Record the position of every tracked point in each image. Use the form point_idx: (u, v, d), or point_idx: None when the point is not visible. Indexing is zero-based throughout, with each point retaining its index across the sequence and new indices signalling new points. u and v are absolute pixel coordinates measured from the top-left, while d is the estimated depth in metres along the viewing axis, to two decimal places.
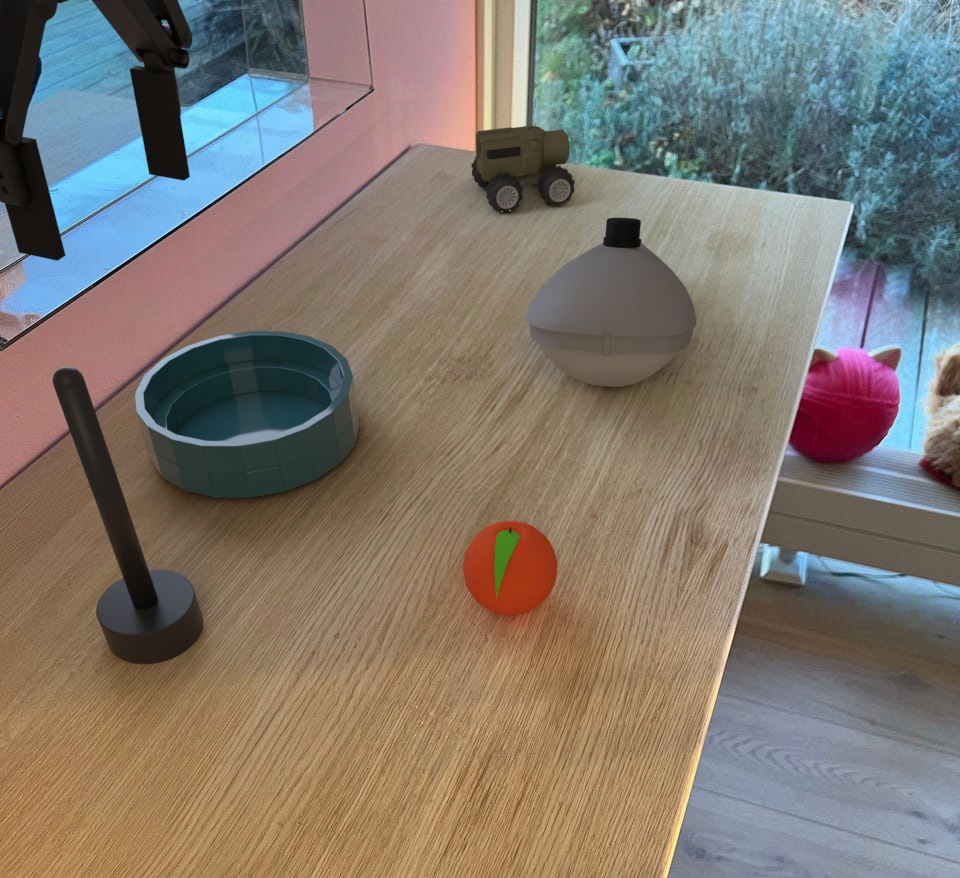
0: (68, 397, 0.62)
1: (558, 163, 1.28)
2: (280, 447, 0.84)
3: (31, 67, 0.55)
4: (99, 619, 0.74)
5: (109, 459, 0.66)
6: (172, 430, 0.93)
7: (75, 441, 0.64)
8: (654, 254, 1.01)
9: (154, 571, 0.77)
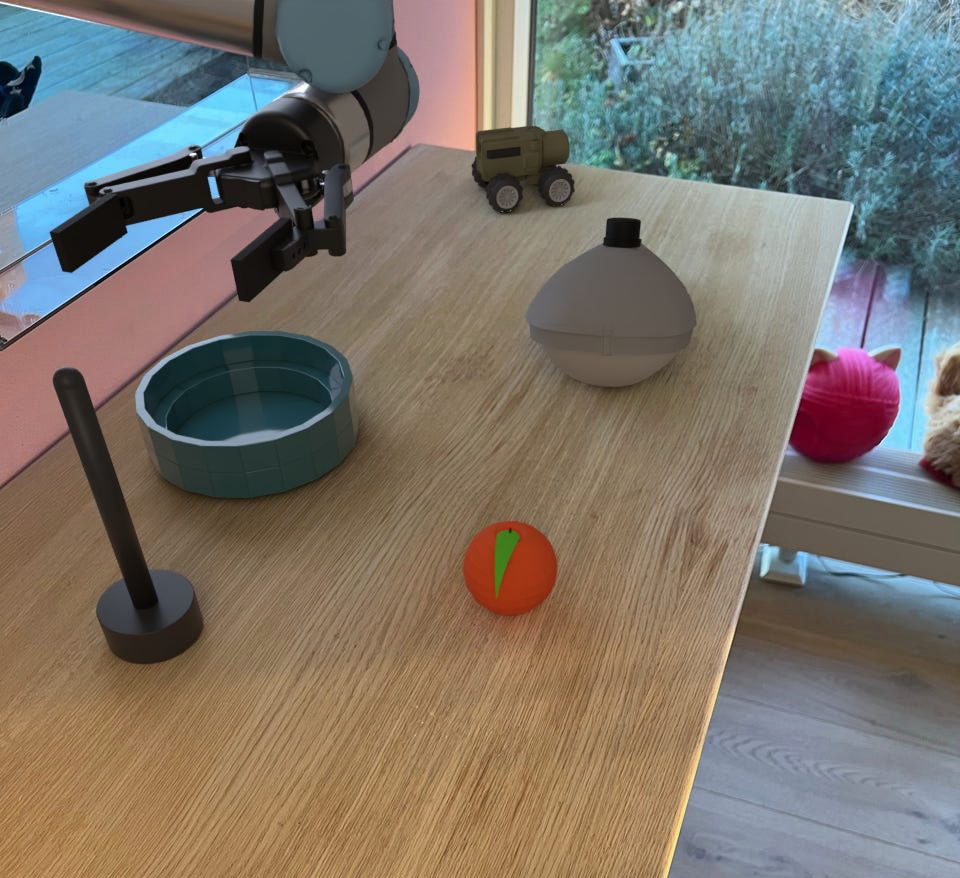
0: (68, 397, 0.62)
1: (558, 163, 1.28)
2: (280, 447, 0.84)
3: None
4: (99, 619, 0.74)
5: (109, 459, 0.66)
6: (172, 430, 0.93)
7: (75, 441, 0.64)
8: (654, 254, 1.01)
9: (154, 571, 0.77)
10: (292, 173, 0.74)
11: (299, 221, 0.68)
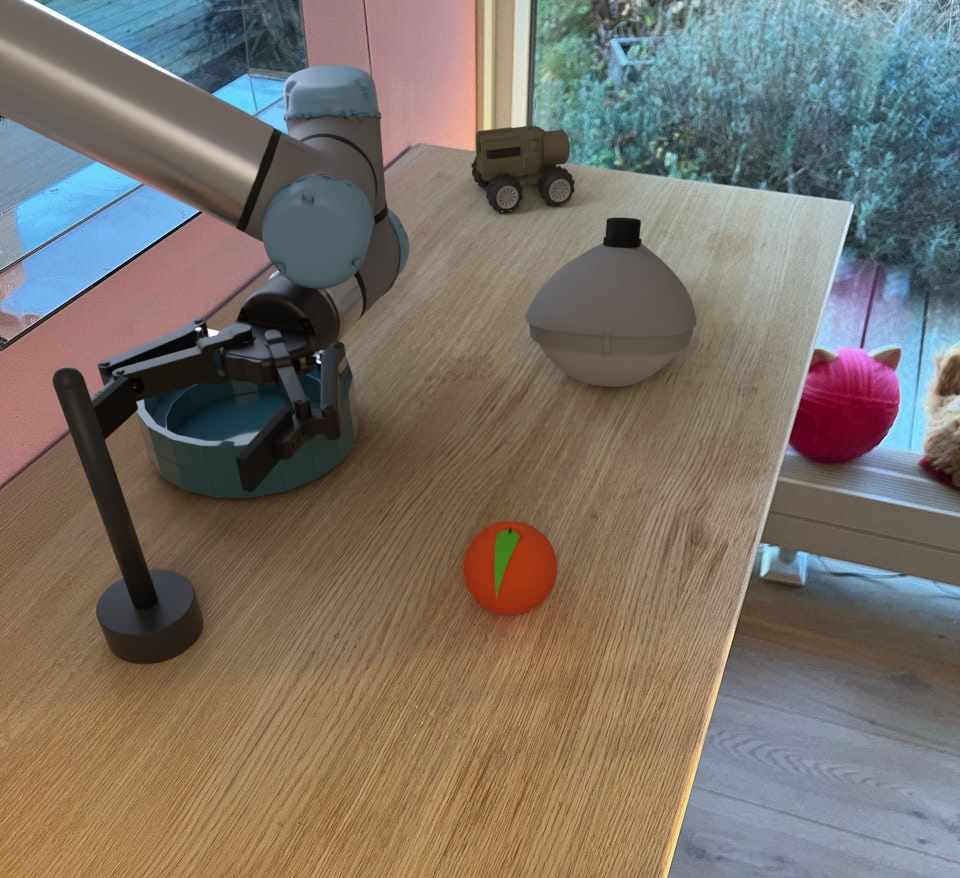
0: (68, 397, 0.62)
1: (558, 163, 1.28)
2: None
3: None
4: (99, 619, 0.74)
5: (109, 459, 0.66)
6: (172, 430, 0.93)
7: (75, 441, 0.64)
8: (654, 254, 1.01)
9: (154, 571, 0.77)
10: (291, 352, 0.80)
11: (298, 411, 0.74)
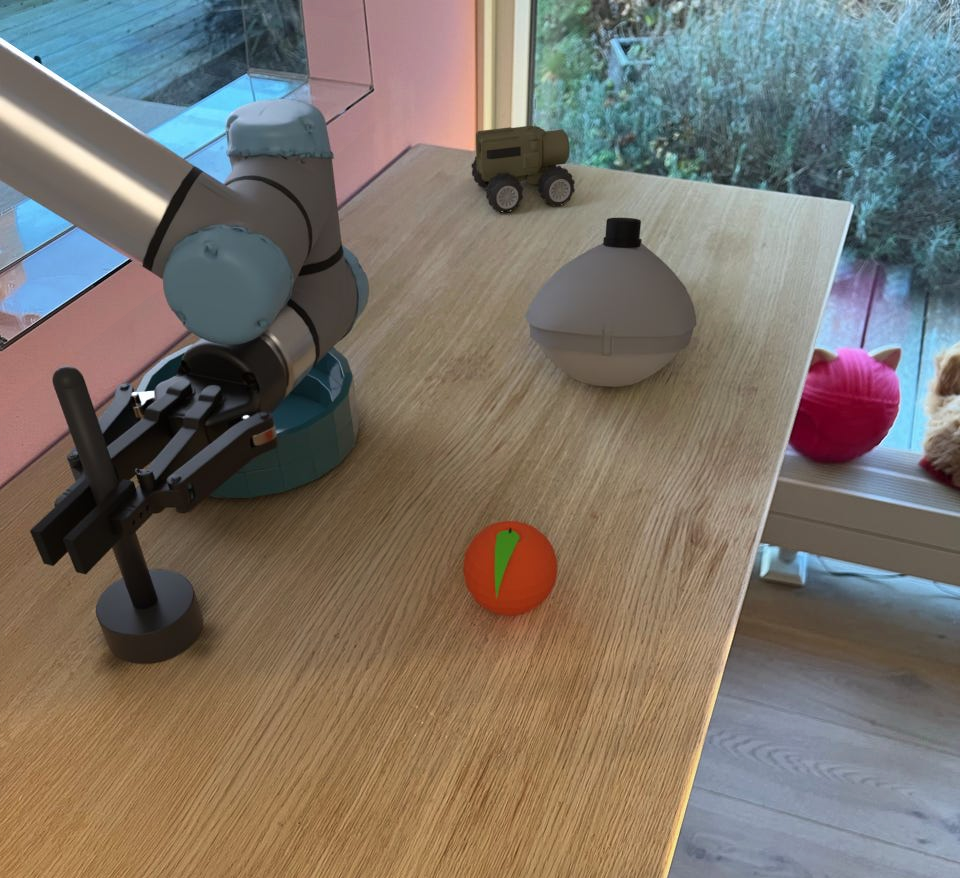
0: (68, 397, 0.62)
1: (558, 163, 1.28)
2: (280, 447, 0.84)
3: None
4: (99, 619, 0.74)
5: (109, 459, 0.66)
6: None
7: (75, 441, 0.64)
8: (654, 254, 1.01)
9: (154, 571, 0.77)
10: (232, 410, 0.74)
11: None
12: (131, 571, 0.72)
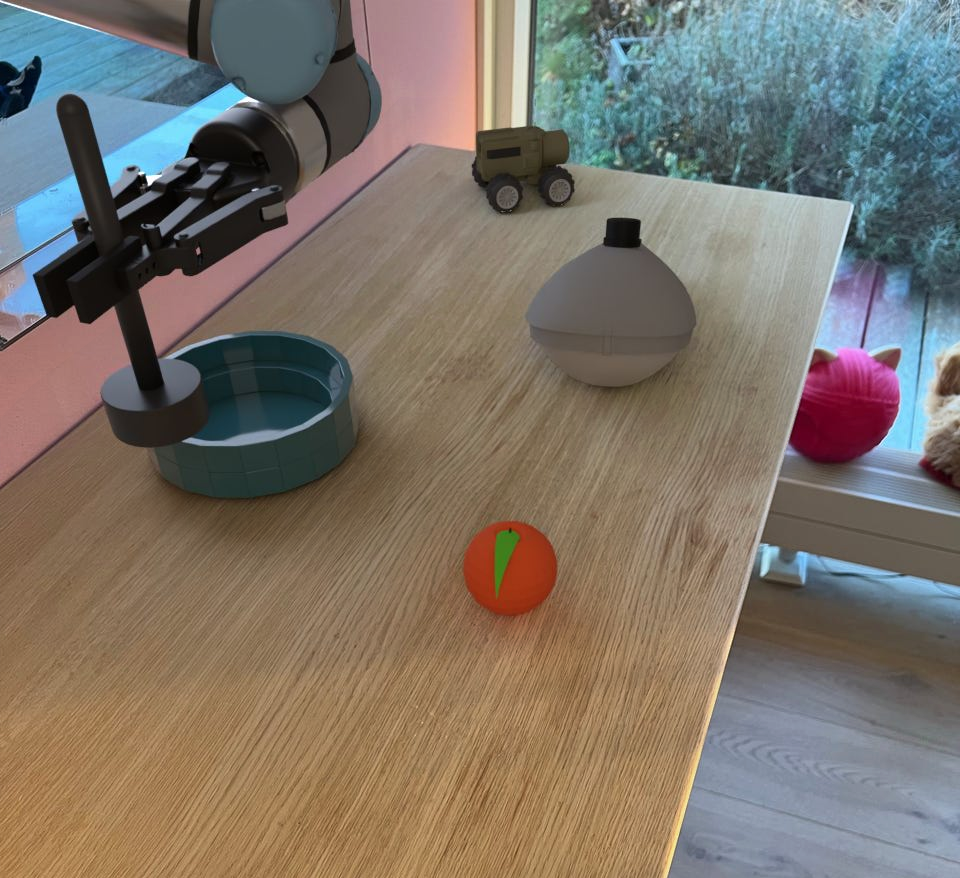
0: (72, 126, 0.60)
1: (558, 163, 1.28)
2: (280, 447, 0.84)
3: None
4: (103, 398, 0.72)
5: (114, 207, 0.64)
6: None
7: (79, 182, 0.62)
8: (654, 254, 1.01)
9: (160, 360, 0.75)
10: (241, 185, 0.72)
11: (145, 238, 0.66)
12: (137, 344, 0.70)
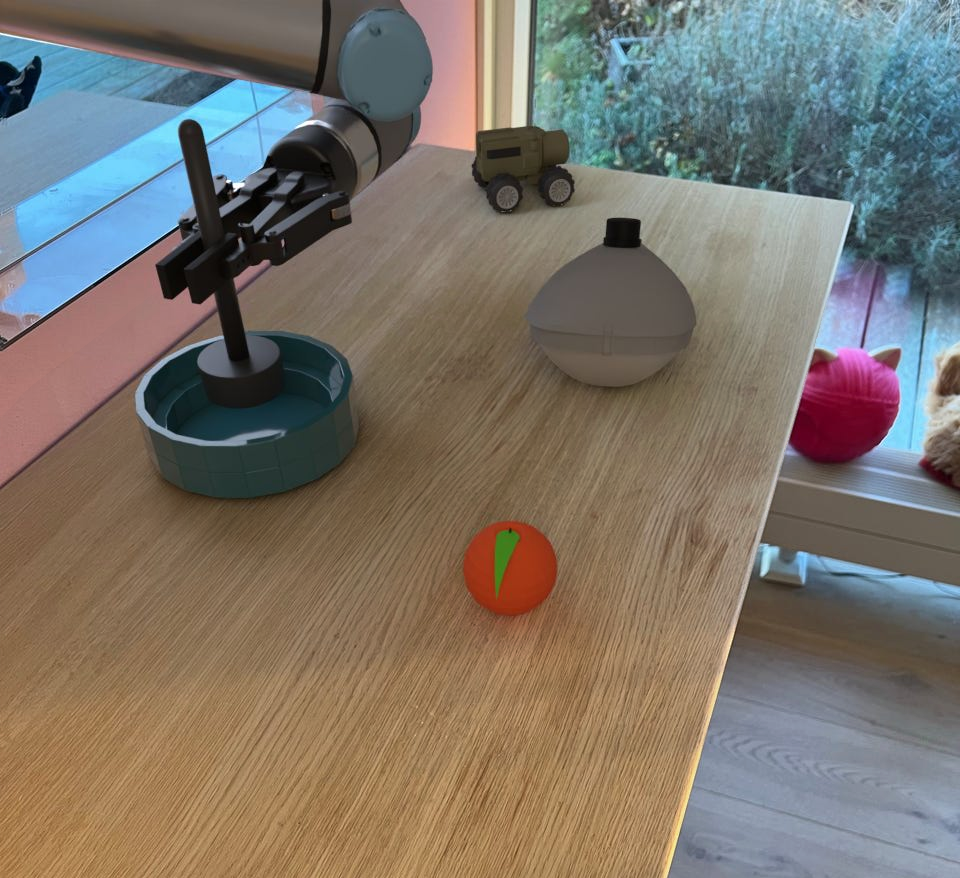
0: (190, 144, 0.75)
1: (558, 163, 1.28)
2: (280, 447, 0.84)
3: None
4: (201, 368, 0.87)
5: (218, 209, 0.79)
6: (172, 430, 0.93)
7: (192, 189, 0.77)
8: (654, 254, 1.01)
9: None
10: (313, 191, 0.87)
11: (241, 235, 0.81)
12: (230, 322, 0.85)
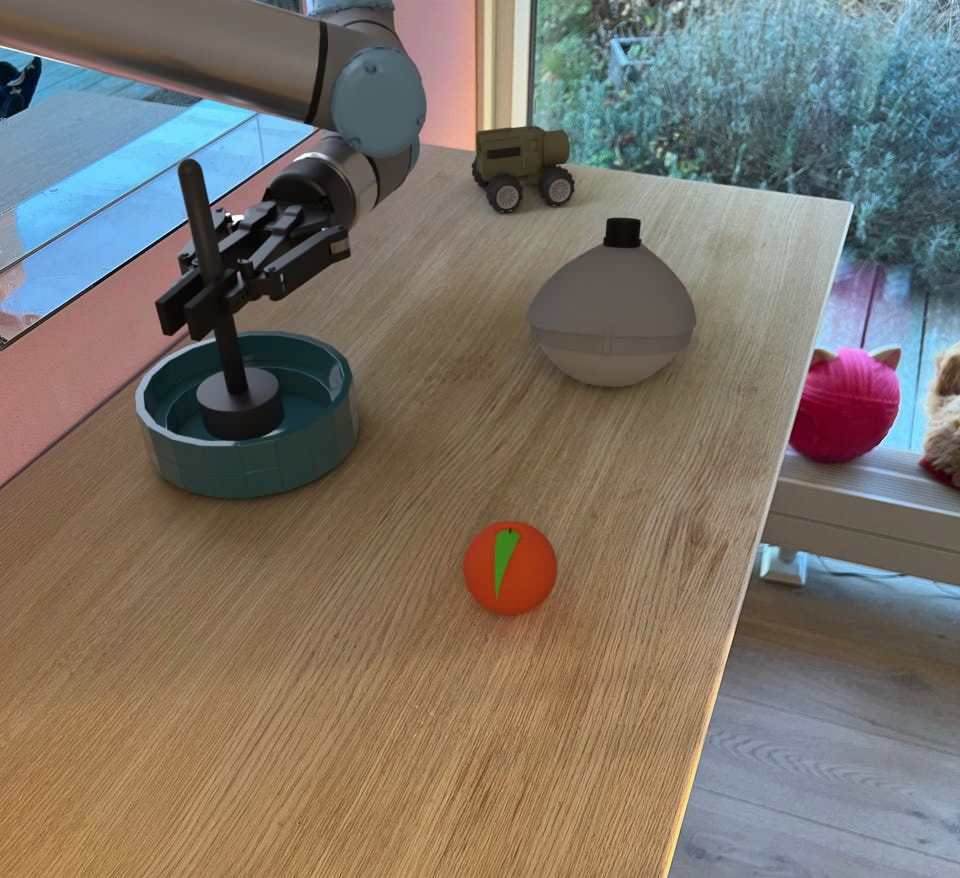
0: (190, 183, 0.75)
1: (558, 163, 1.28)
2: (280, 447, 0.84)
3: None
4: (200, 401, 0.87)
5: (218, 246, 0.79)
6: (172, 430, 0.93)
7: (192, 227, 0.77)
8: (654, 254, 1.01)
9: None
10: (312, 225, 0.87)
11: (240, 271, 0.81)
12: (229, 356, 0.85)
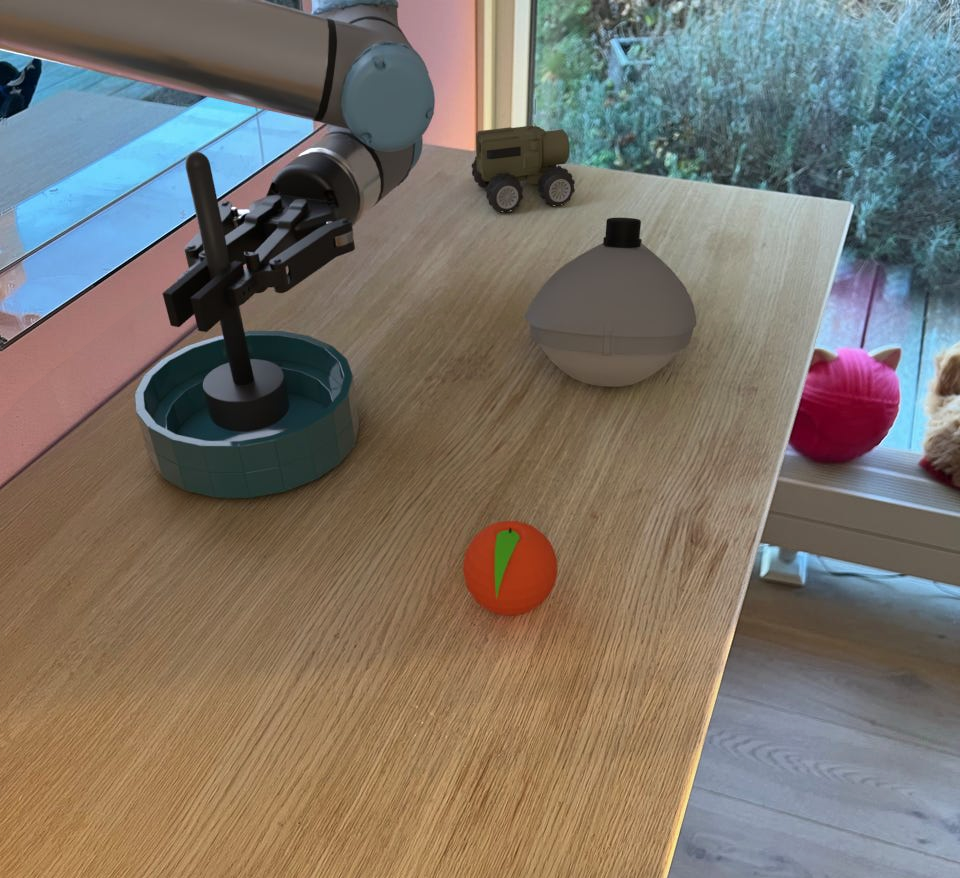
0: (197, 177, 0.76)
1: (558, 163, 1.28)
2: (280, 447, 0.84)
3: None
4: (206, 392, 0.88)
5: (224, 239, 0.81)
6: (172, 430, 0.93)
7: (199, 219, 0.79)
8: (654, 254, 1.01)
9: None
10: (317, 218, 0.89)
11: (246, 263, 0.83)
12: (235, 347, 0.86)
